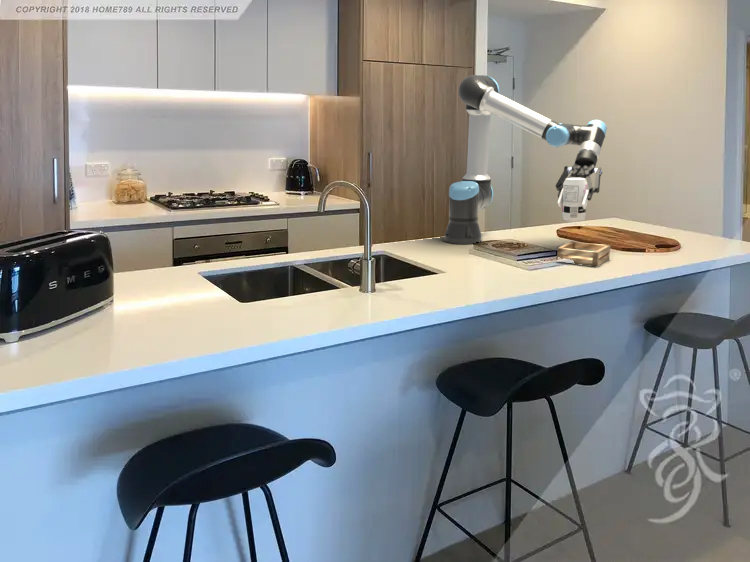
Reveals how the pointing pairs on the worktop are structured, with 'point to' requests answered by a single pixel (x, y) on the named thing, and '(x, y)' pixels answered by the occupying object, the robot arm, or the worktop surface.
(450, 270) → the worktop surface
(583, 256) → the crate
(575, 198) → the supplement can
